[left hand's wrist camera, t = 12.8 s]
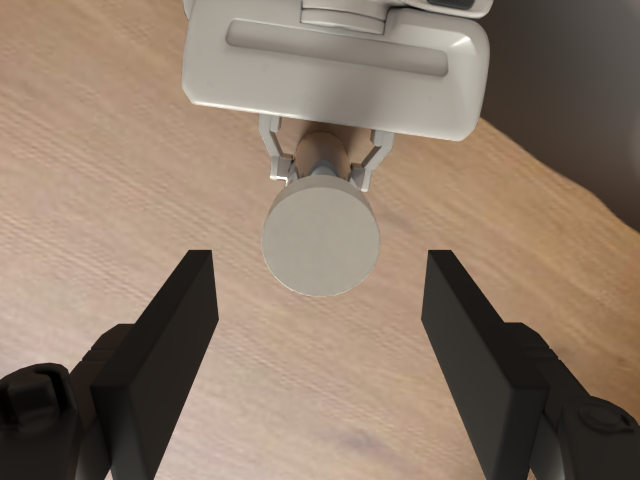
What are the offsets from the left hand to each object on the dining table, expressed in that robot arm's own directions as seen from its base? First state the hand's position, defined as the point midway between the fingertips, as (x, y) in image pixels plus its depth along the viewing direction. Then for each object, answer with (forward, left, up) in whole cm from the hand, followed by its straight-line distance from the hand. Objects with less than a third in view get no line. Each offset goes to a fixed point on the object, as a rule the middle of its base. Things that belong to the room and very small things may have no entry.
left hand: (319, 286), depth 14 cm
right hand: (-1, +1, -18) cm, 18 cm away
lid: (0, 0, -4) cm, 4 cm away
